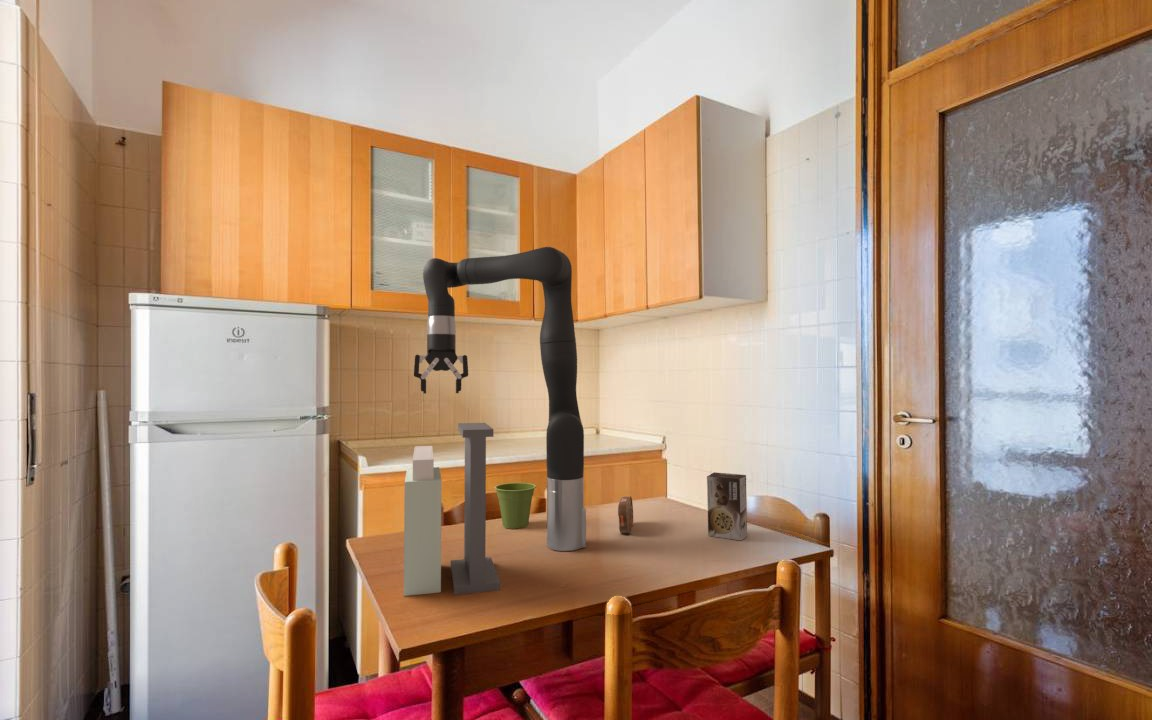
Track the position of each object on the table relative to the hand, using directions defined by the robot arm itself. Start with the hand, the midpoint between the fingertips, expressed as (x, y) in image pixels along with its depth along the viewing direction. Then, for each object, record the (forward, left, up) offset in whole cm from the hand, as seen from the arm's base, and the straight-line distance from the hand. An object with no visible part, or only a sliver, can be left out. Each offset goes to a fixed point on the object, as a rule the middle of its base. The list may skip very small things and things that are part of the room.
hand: (441, 393), depth 148 cm
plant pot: (-21, -4, -38) cm, 44 cm away
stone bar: (+5, +28, -16) cm, 33 cm away
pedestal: (+5, +32, -38) cm, 50 cm away
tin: (-50, +8, -38) cm, 64 cm away
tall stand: (-6, +34, -38) cm, 51 cm away
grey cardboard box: (-74, +21, -38) cm, 86 cm away
